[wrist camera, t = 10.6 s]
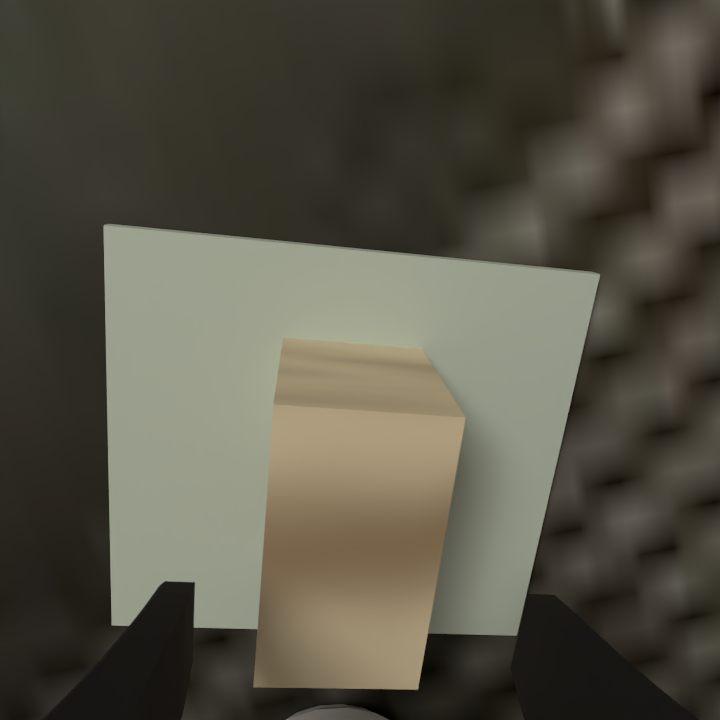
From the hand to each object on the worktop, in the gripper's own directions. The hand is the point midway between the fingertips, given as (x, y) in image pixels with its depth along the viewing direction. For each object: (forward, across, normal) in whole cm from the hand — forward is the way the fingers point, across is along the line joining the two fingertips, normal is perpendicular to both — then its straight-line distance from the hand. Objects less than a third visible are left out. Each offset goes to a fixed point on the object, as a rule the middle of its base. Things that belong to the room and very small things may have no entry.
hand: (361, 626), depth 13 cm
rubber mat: (+8, 0, 0) cm, 8 cm away
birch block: (+8, 0, 0) cm, 8 cm away
